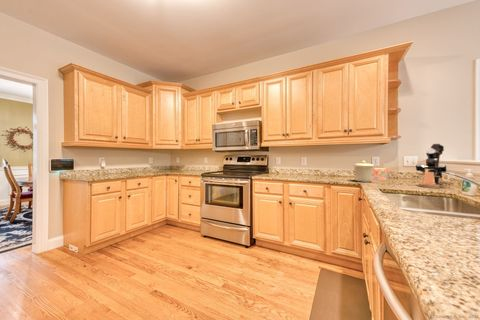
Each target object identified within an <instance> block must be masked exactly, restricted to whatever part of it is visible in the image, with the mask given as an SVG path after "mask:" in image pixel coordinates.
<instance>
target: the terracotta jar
mask: <svg viewBox="0 0 480 320" xmlns="http://www.w3.org/2000/svg"><path fill="white" fill-rule="evenodd" d="M423 175H424V178H423V179H424V180H423V182H422V183H423V184H428V185H436V183H434V180H435V176H434V172H428V171H425V173H423Z"/></svg>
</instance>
